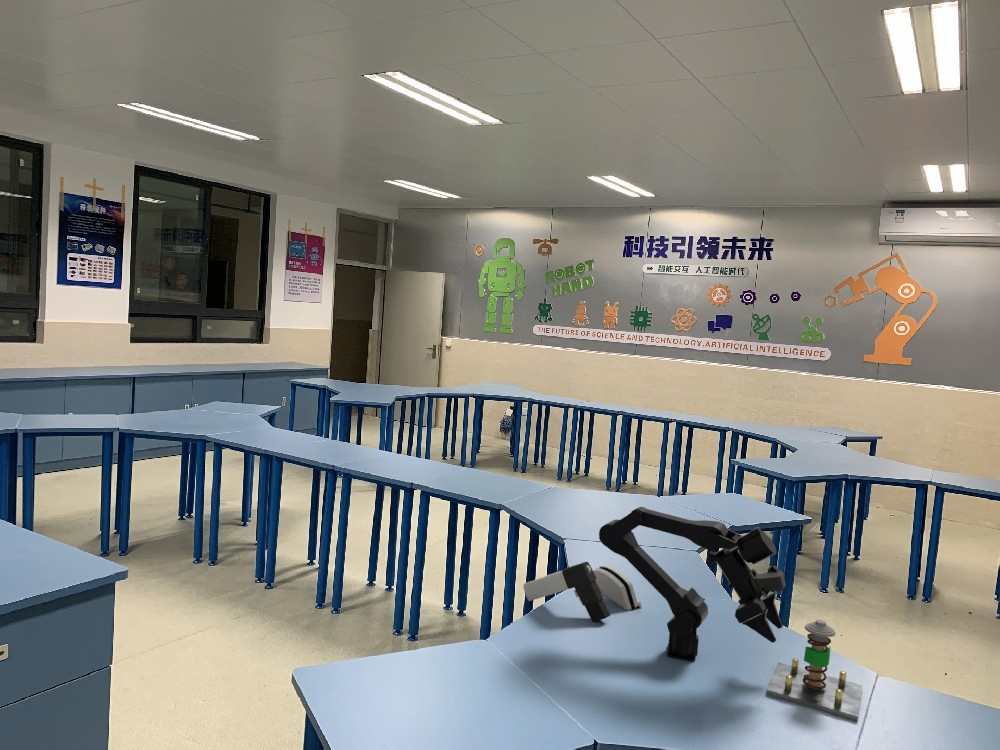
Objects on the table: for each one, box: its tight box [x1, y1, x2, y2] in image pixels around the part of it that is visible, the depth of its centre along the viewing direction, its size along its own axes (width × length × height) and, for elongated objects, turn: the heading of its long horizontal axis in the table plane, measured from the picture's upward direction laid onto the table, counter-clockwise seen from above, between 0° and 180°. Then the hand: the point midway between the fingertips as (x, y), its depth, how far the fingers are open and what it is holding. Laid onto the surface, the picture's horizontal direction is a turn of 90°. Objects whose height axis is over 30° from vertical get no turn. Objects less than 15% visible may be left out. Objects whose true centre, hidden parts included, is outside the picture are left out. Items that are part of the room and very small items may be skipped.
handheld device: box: [523, 561, 611, 622], centre depth 199 cm, size 4×22×15 cm, turn 56°
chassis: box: [765, 657, 863, 723], centre depth 162 cm, size 18×16×4 cm
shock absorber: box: [803, 619, 837, 690], centre depth 161 cm, size 6×6×15 cm
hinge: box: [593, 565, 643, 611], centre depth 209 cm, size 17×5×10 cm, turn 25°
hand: (777, 634), depth 166 cm, fingers open, 9 cm apart
